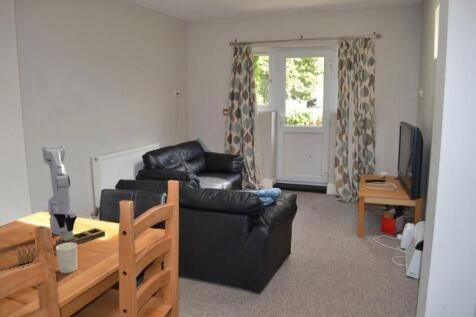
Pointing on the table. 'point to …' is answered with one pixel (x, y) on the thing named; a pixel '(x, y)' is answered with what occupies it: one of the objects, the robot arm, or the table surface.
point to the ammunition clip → (25, 259)
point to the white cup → (67, 257)
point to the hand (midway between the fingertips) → (66, 229)
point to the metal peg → (66, 236)
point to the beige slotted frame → (84, 236)
